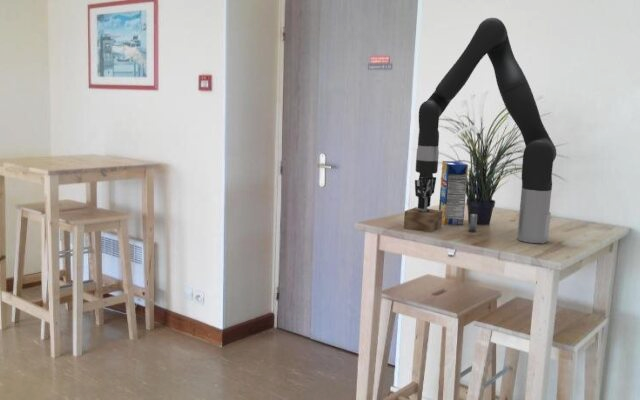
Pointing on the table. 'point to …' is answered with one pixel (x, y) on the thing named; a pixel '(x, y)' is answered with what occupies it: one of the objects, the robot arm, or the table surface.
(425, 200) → the long pin
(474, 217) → the short pin
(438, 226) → the hole block
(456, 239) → the table surface
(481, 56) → the robot arm
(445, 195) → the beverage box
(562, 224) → the table surface
